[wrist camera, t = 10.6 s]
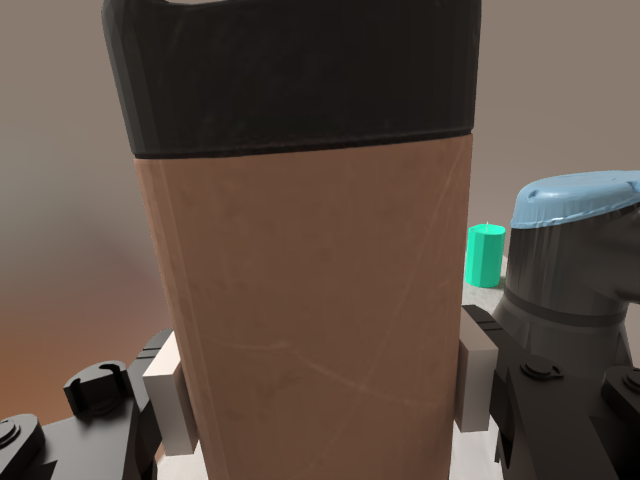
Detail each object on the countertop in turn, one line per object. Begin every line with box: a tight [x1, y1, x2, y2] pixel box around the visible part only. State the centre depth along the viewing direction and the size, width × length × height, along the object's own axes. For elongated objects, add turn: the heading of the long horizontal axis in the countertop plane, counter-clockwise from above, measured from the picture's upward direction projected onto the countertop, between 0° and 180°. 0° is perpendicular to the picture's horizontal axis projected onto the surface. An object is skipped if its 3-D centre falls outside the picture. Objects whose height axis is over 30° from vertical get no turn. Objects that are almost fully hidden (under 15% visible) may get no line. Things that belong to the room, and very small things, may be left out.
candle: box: [465, 221, 505, 288], centre depth 60 cm, size 6×6×12 cm
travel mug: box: [101, 0, 481, 480], centre depth 10 cm, size 8×8×20 cm
